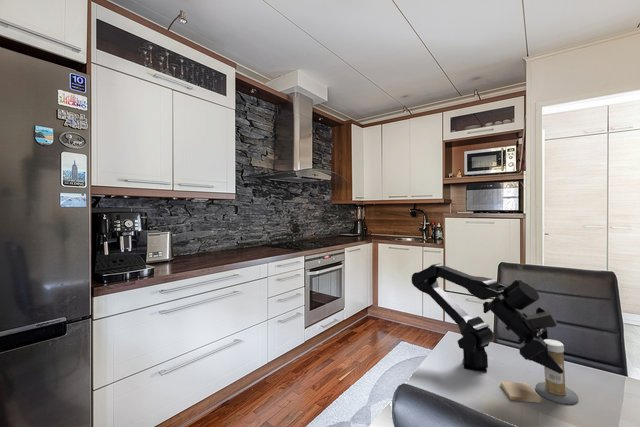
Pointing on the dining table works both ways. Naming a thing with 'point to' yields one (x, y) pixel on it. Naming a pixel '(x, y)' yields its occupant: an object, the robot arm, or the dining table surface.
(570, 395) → the coaster
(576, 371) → the dining table surface
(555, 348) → the sprinkles bottle
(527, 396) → the tan square cloth
